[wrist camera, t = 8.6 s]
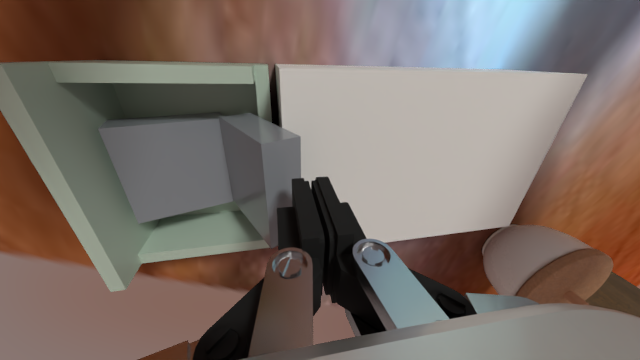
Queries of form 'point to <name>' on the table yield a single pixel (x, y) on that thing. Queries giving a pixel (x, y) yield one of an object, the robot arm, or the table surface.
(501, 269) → the lidded jar
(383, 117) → the white rectangular block
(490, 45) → the table surface
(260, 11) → the table surface
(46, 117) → the box
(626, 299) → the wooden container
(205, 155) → the slate tile back
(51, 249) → the table surface
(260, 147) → the slate tile front
